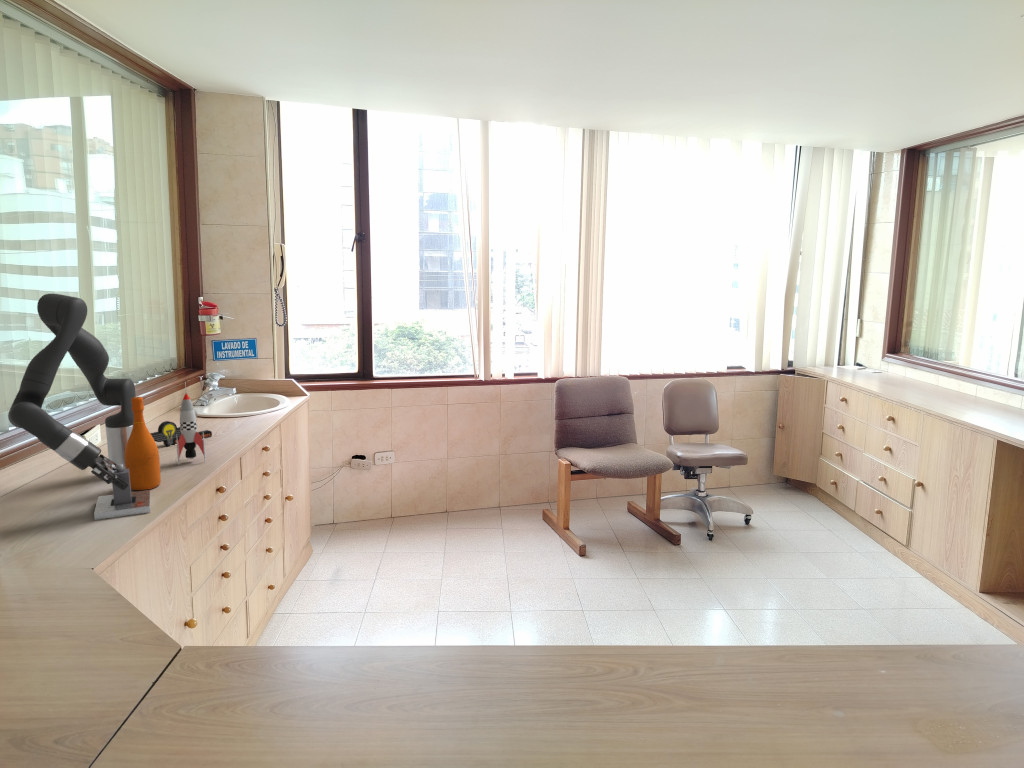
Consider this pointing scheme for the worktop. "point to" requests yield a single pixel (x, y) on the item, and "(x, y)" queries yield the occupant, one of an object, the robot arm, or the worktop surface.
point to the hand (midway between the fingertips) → (126, 483)
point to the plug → (119, 494)
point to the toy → (189, 430)
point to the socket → (122, 506)
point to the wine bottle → (142, 452)
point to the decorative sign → (172, 433)
